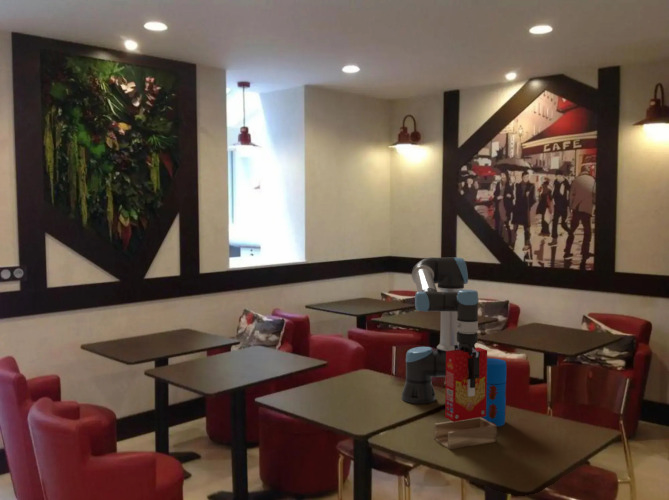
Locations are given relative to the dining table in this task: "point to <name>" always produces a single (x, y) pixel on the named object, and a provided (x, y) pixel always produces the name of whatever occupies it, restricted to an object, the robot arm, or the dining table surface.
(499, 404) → the thermos
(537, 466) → the dining table surface
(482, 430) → the u rest
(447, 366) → the food packaging
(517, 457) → the dining table surface
